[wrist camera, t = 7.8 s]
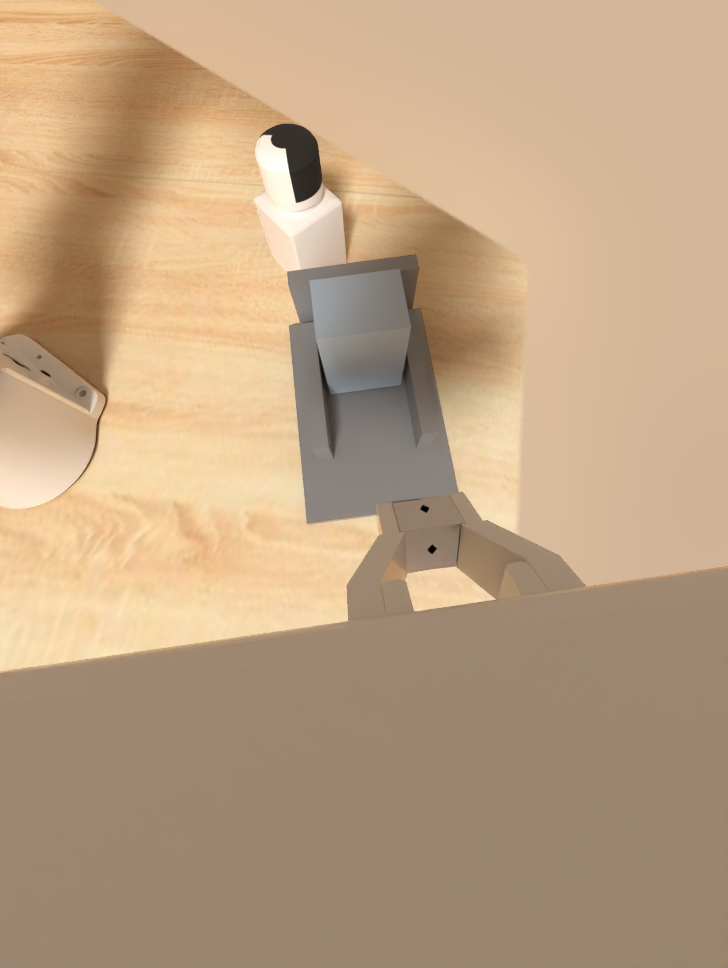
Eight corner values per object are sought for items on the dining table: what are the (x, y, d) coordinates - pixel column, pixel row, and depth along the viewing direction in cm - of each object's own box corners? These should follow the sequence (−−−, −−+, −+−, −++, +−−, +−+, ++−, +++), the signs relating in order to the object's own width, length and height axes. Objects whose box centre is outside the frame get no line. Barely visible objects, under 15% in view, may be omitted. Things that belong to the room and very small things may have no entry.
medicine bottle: (314, 230, 41) (291, 100, 29) (348, 262, 39) (338, 140, 28) (272, 259, 40) (230, 137, 28) (305, 293, 38) (276, 180, 27)
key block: (400, 385, 34) (411, 326, 25) (330, 394, 34) (315, 339, 25) (392, 339, 35) (399, 268, 26) (324, 348, 35) (309, 280, 26)
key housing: (457, 504, 32) (490, 486, 23) (309, 524, 32) (285, 514, 23) (418, 314, 37) (433, 241, 28) (291, 331, 37) (266, 263, 28)
